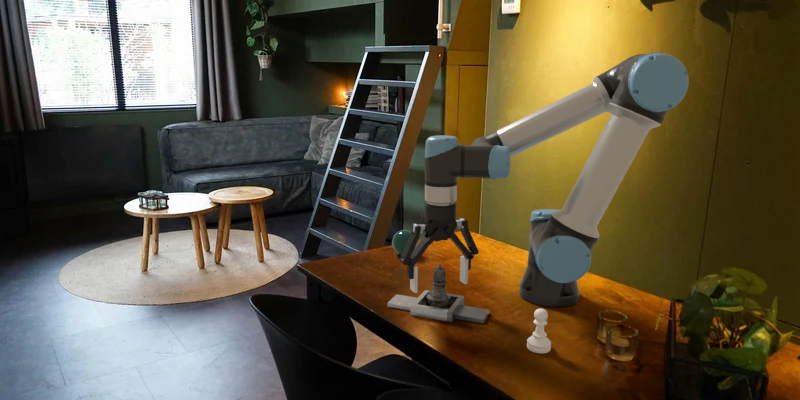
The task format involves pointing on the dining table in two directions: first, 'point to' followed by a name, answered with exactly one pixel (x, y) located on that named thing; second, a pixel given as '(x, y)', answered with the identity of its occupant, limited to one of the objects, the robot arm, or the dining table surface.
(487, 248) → the dining table surface
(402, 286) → the dining table surface
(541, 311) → the chess pawn
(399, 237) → the sphere
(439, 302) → the grey chess piece
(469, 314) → the flanged square frame
